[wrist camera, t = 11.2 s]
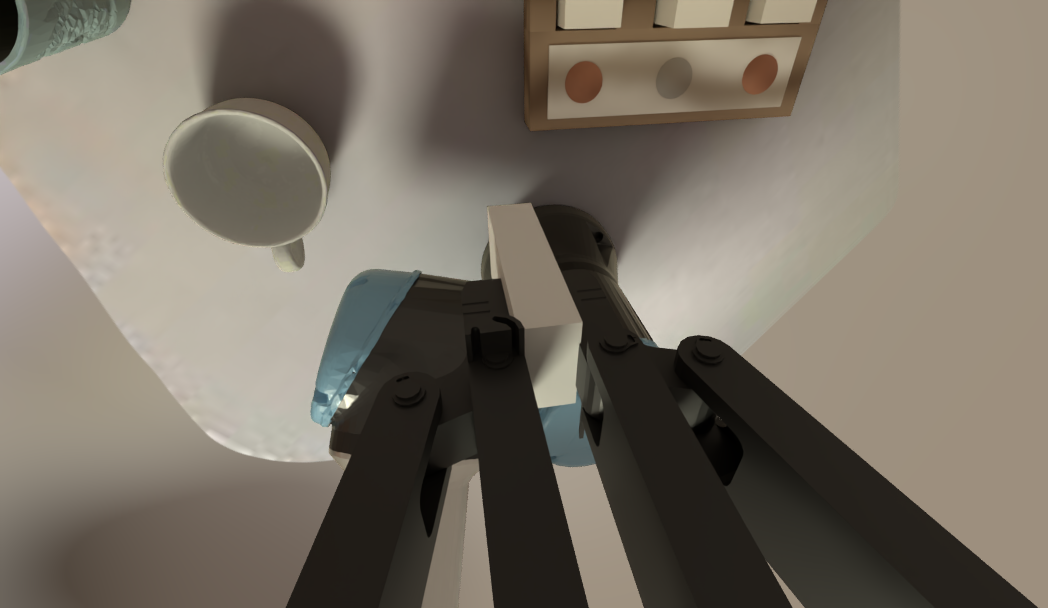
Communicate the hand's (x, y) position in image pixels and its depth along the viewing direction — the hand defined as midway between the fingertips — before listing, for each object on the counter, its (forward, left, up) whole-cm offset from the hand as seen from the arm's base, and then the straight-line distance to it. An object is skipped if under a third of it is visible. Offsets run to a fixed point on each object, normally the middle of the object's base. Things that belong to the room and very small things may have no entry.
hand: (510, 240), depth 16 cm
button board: (+4, -18, -29) cm, 35 cm away
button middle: (+6, -18, -28) cm, 33 cm away
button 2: (+6, -10, -29) cm, 31 cm away
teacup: (-7, +17, -30) cm, 35 cm away
